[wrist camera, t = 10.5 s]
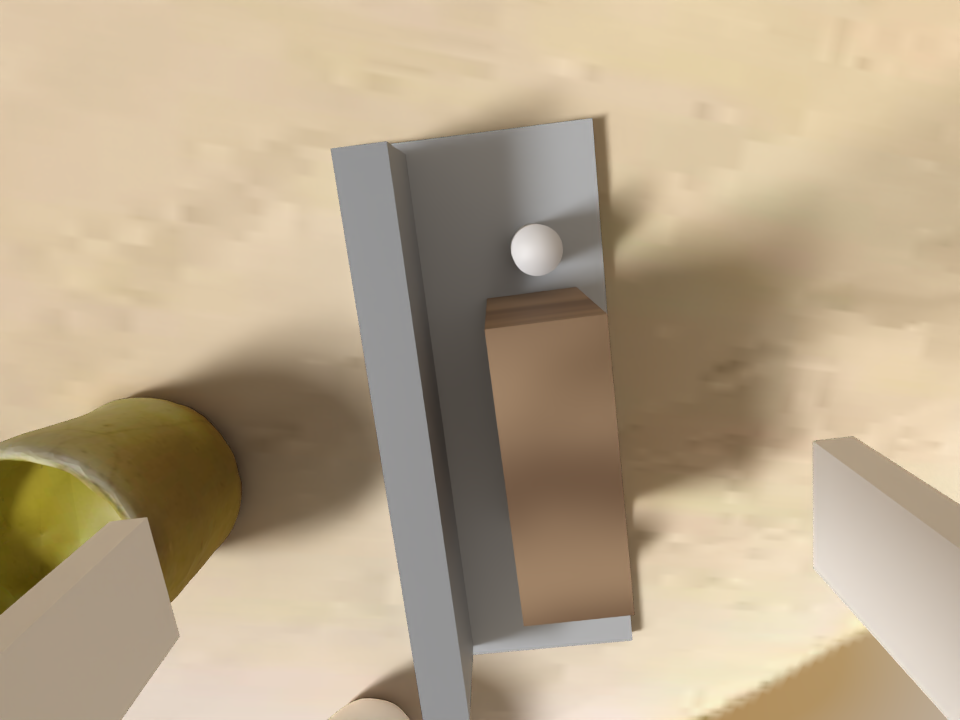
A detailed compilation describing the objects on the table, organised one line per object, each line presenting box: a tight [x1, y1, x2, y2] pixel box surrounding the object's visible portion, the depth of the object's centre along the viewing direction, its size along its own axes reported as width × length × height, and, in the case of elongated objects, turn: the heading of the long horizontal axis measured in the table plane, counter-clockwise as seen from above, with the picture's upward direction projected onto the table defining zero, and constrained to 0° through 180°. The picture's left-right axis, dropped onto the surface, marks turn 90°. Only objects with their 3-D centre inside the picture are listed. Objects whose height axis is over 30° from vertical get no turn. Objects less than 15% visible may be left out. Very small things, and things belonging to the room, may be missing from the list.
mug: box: [0, 398, 242, 615], centre depth 28 cm, size 12×10×10 cm
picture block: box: [484, 287, 635, 626], centre depth 26 cm, size 11×4×8 cm, turn 8°
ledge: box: [331, 118, 632, 720], centre depth 28 cm, size 25×11×6 cm, turn 7°
